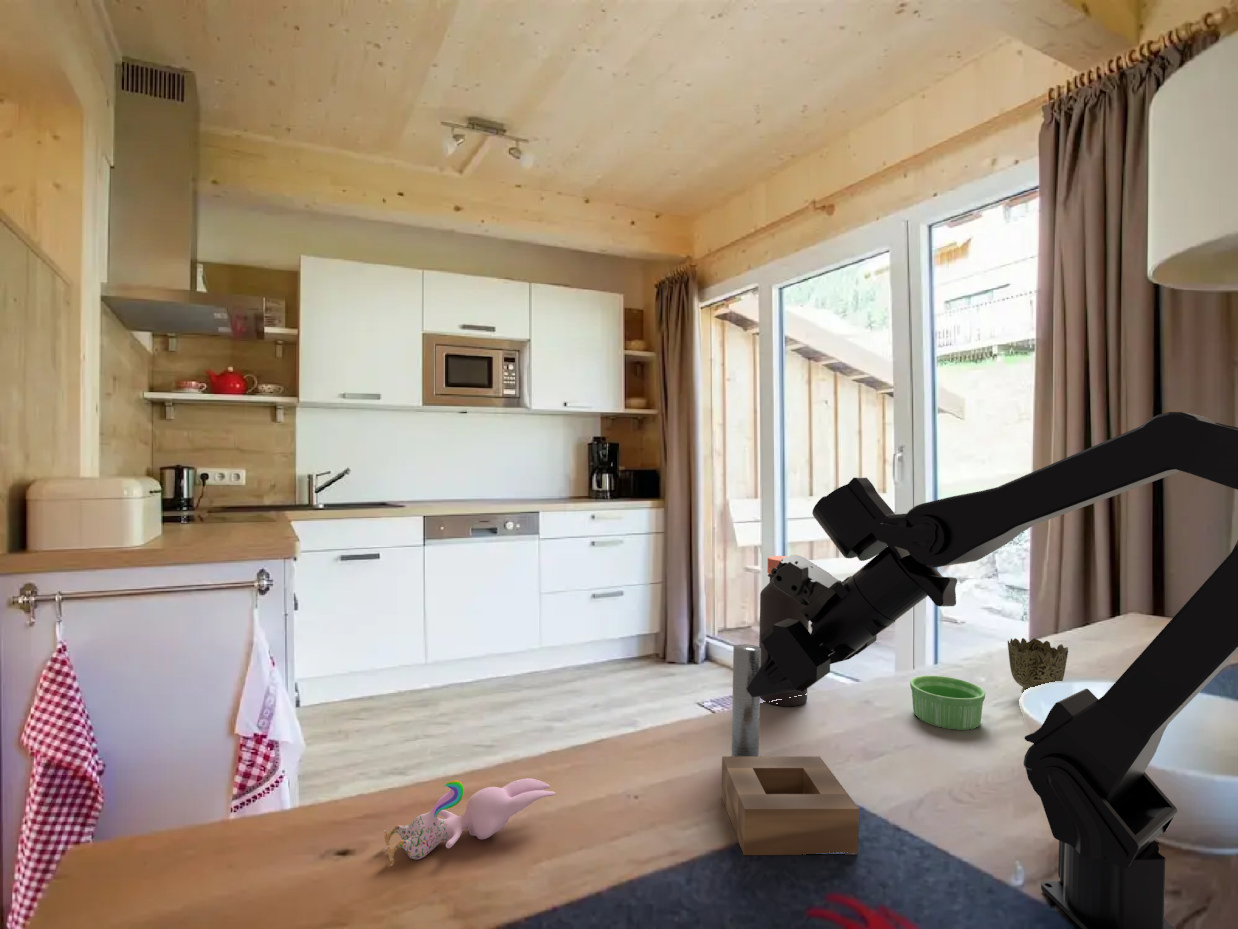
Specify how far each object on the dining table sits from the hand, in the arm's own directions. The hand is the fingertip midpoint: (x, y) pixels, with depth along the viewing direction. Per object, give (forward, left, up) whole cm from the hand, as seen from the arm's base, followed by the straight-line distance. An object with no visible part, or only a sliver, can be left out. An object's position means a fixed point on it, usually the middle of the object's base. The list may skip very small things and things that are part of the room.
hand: (769, 681), depth 73 cm
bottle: (+22, -8, -10) cm, 25 cm away
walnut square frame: (-10, +1, -10) cm, 14 cm away
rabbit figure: (-12, +30, -10) cm, 34 cm away
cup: (+22, -45, -10) cm, 51 cm away
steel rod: (+2, +2, -10) cm, 10 cm away
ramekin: (+15, -28, -10) cm, 33 cm away
